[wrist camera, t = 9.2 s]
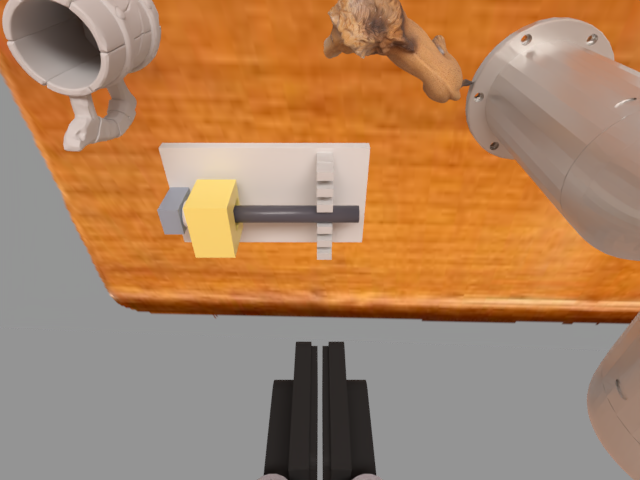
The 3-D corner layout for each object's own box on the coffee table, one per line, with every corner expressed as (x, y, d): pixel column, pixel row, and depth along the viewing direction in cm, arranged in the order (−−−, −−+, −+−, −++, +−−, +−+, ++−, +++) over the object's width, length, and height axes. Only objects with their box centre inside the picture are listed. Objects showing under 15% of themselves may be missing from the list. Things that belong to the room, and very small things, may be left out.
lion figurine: (313, 31, 33) (311, 58, 26) (342, -38, 30) (349, -28, 23) (452, 106, 37) (483, 147, 30) (490, 51, 34) (534, 83, 27)
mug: (155, -34, 30) (82, -17, 21) (180, 114, 38) (134, 176, 28) (55, -41, 30) (-65, -28, 21) (99, 110, 37) (26, 170, 28)
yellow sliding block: (236, 179, 40) (226, 208, 36) (243, 226, 43) (235, 257, 39) (196, 179, 40) (182, 208, 36) (207, 226, 43) (195, 257, 39)
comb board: (369, 143, 39) (374, 169, 35) (361, 235, 47) (365, 266, 43) (162, 142, 39) (143, 168, 35) (187, 235, 47) (173, 266, 43)
